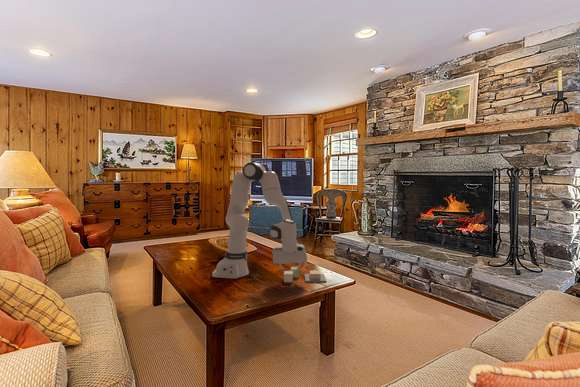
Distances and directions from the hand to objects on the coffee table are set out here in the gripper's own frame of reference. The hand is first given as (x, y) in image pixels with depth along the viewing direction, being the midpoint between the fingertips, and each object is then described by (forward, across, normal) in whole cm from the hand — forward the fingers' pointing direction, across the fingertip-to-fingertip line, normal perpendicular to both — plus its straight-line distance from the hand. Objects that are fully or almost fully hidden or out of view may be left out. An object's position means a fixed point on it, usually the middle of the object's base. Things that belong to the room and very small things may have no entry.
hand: (290, 270), depth 182 cm
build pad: (+6, +15, +2) cm, 16 cm away
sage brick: (+6, +3, +7) cm, 10 cm away
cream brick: (+6, -2, -1) cm, 6 cm away
